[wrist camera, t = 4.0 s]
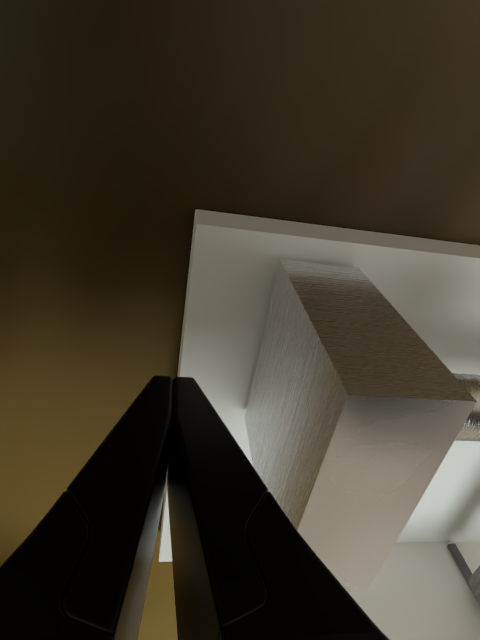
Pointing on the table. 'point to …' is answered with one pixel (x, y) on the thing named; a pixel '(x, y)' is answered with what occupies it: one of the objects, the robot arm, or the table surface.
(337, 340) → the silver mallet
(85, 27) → the table surface
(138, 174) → the table surface
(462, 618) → the gauge base
